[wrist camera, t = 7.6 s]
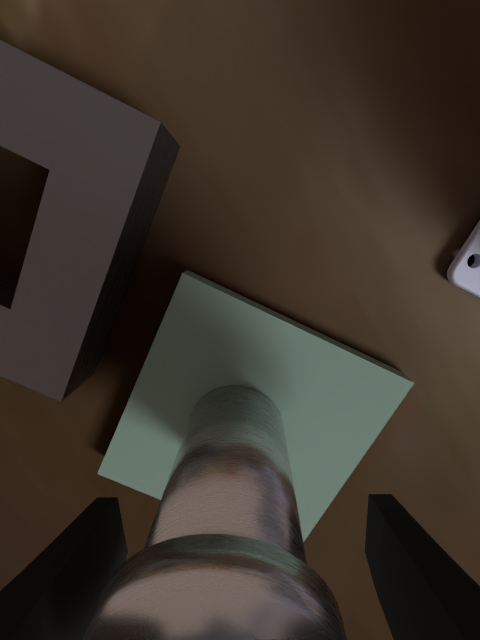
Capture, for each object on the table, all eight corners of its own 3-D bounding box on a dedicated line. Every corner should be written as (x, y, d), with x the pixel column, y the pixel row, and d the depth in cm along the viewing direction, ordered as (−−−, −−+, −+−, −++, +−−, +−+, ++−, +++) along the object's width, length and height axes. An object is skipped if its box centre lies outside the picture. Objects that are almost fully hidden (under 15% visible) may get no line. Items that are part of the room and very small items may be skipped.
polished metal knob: (168, 378, 13) (39, 598, 5) (292, 368, 12) (359, 588, 5) (186, 480, 14) (104, 782, 6) (298, 474, 14) (359, 783, 6)
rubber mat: (187, 270, 13) (182, 272, 12) (402, 372, 13) (414, 383, 12) (107, 458, 15) (97, 473, 14) (292, 535, 16) (294, 554, 15)
